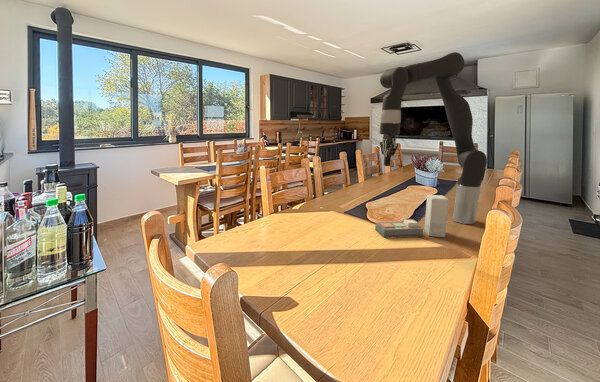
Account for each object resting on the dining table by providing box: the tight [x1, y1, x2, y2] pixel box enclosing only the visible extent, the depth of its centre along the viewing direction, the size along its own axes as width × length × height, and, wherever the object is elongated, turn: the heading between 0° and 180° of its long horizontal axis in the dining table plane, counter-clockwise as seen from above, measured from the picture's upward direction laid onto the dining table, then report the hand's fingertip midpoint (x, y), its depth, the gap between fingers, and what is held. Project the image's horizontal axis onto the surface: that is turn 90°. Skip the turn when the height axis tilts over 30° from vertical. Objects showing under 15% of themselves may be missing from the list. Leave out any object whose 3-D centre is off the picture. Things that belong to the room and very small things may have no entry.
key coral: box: [380, 223, 394, 228], centre depth 116 cm, size 4×4×2 cm
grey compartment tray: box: [374, 221, 424, 239], centre depth 117 cm, size 16×9×3 cm, turn 97°
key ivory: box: [402, 219, 419, 227], centre depth 117 cm, size 4×4×2 cm
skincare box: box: [423, 194, 450, 238], centre depth 116 cm, size 8×7×16 cm
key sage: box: [392, 223, 406, 228], centre depth 117 cm, size 4×4×2 cm
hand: (386, 165), depth 117 cm, fingers closed
